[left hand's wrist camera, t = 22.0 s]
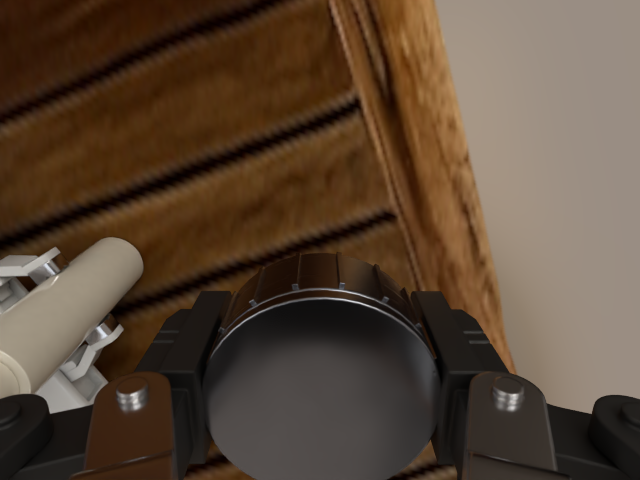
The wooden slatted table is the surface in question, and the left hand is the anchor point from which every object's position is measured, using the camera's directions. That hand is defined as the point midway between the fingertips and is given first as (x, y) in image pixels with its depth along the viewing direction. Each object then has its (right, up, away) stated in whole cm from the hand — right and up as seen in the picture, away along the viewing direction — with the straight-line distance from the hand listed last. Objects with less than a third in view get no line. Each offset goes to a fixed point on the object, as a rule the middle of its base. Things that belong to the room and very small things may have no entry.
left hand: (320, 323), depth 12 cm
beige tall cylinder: (-16, 0, +25) cm, 30 cm away
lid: (0, -1, -3) cm, 3 cm away
